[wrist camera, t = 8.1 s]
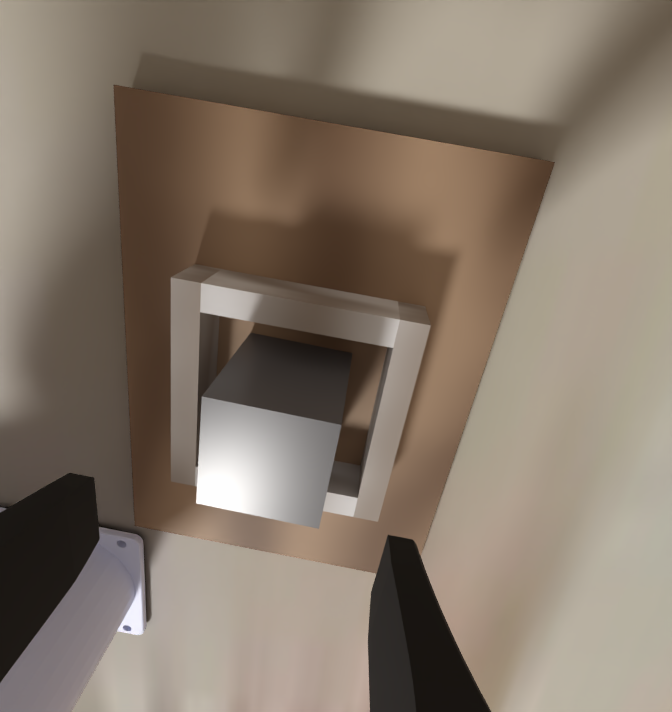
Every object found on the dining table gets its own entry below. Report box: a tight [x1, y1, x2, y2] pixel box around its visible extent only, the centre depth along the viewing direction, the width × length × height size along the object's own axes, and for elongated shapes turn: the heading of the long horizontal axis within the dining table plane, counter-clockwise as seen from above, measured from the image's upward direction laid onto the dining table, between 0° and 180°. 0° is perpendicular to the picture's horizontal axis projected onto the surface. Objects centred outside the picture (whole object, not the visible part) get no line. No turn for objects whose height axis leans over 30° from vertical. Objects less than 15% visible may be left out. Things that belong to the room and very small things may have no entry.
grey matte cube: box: [196, 333, 352, 529], centre depth 15 cm, size 4×4×5 cm
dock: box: [114, 85, 555, 573], centre depth 17 cm, size 14×19×3 cm
